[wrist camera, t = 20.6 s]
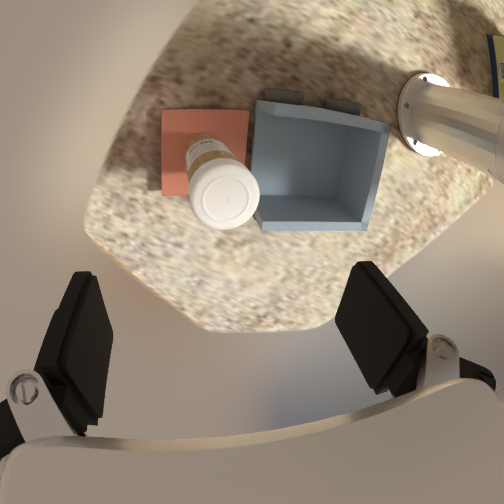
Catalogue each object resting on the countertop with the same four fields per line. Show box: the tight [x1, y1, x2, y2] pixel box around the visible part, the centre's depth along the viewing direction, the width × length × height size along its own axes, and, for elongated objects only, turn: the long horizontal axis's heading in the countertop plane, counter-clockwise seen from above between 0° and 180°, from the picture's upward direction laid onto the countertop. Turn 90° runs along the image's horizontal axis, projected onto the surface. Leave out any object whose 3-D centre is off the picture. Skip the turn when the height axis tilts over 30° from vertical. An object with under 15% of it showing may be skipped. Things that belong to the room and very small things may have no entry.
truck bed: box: [249, 88, 391, 231], centre depth 29 cm, size 12×15×8 cm
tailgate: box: [161, 109, 249, 196], centre depth 29 cm, size 1×9×9 cm
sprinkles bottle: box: [183, 133, 260, 230], centre depth 23 cm, size 5×5×13 cm
